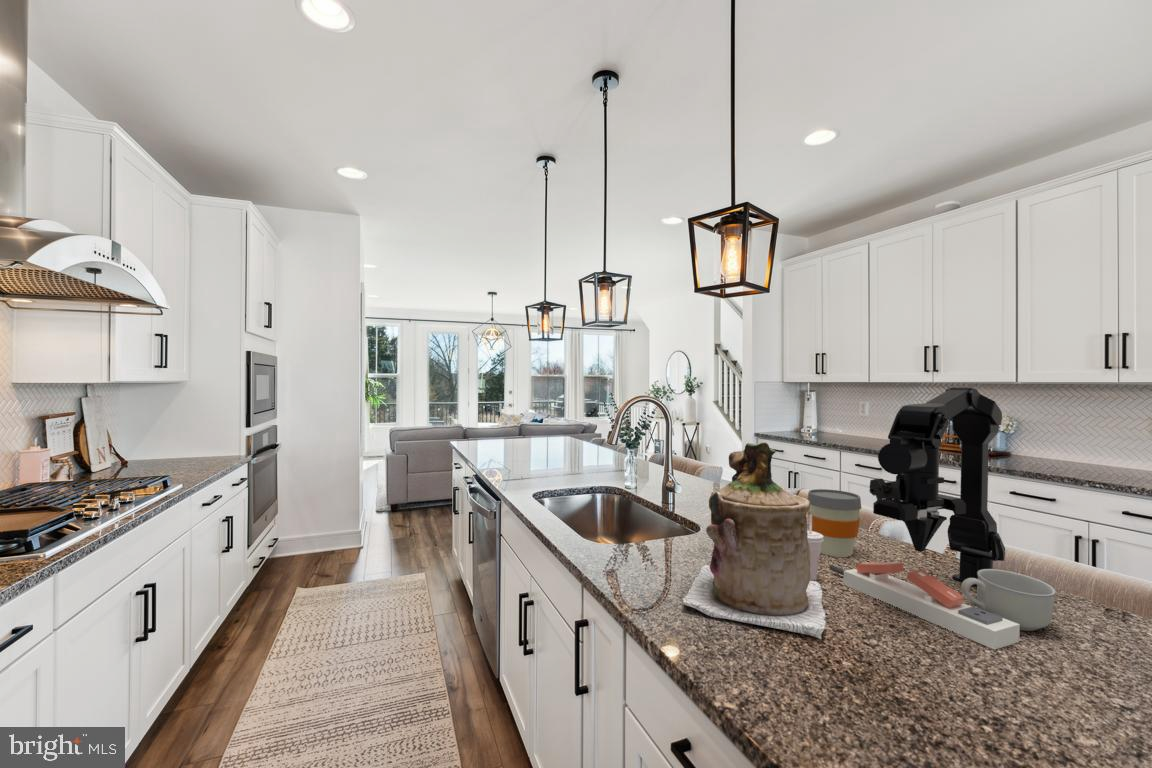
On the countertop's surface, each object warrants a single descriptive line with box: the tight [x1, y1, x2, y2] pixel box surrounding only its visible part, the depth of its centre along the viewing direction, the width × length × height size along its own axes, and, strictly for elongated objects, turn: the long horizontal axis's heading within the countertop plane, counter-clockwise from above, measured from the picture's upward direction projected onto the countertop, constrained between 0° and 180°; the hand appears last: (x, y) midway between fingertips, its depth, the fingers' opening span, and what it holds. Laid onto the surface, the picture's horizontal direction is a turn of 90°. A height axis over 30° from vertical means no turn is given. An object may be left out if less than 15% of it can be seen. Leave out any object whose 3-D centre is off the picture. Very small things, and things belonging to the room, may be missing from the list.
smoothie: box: [807, 515, 824, 581], centre depth 110 cm, size 6×6×14 cm
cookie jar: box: [682, 441, 827, 640], centre depth 98 cm, size 25×25×32 cm
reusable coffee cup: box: [807, 488, 862, 558], centre depth 128 cm, size 13×13×15 cm
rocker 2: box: [906, 569, 965, 608], centre depth 92 cm, size 4×8×2 cm, turn 22°
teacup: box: [960, 568, 1057, 632], centre depth 90 cm, size 14×11×8 cm
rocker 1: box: [855, 561, 905, 574], centre depth 103 cm, size 4×8×2 cm, turn 22°
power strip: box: [829, 564, 1021, 651], centre depth 97 cm, size 7×34×4 cm, turn 22°
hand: (919, 551), depth 95 cm, fingers closed
